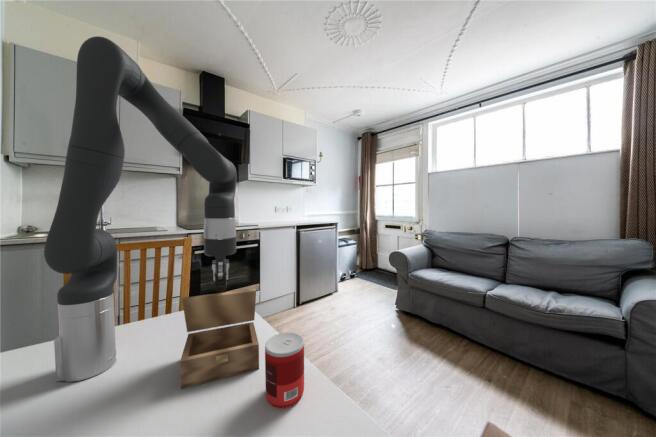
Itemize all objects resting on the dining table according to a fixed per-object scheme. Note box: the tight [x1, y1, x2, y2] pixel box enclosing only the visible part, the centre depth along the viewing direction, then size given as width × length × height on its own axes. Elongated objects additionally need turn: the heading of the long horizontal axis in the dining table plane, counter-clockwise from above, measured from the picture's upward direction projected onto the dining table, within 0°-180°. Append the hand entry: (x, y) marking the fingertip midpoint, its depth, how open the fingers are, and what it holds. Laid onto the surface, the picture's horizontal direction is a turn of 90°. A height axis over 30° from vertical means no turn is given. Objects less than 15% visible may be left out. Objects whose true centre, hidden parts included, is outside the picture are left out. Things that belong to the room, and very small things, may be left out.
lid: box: [181, 288, 257, 333], centre depth 62 cm, size 17×12×1 cm
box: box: [179, 321, 260, 390], centre depth 59 cm, size 16×12×6 cm
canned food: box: [264, 332, 305, 409], centre depth 49 cm, size 8×8×11 cm
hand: (221, 301), depth 62 cm, fingers closed
